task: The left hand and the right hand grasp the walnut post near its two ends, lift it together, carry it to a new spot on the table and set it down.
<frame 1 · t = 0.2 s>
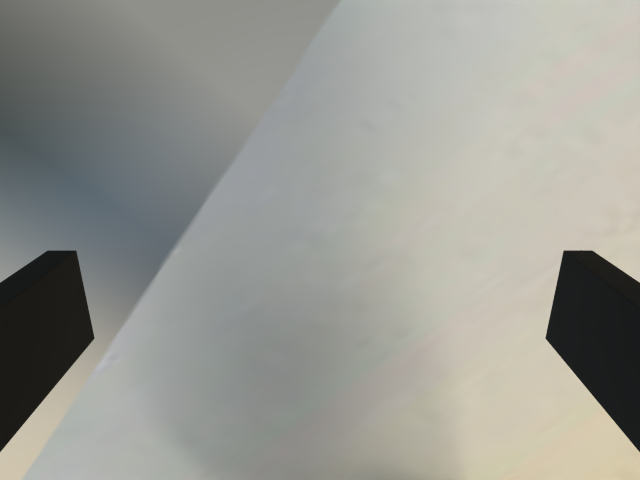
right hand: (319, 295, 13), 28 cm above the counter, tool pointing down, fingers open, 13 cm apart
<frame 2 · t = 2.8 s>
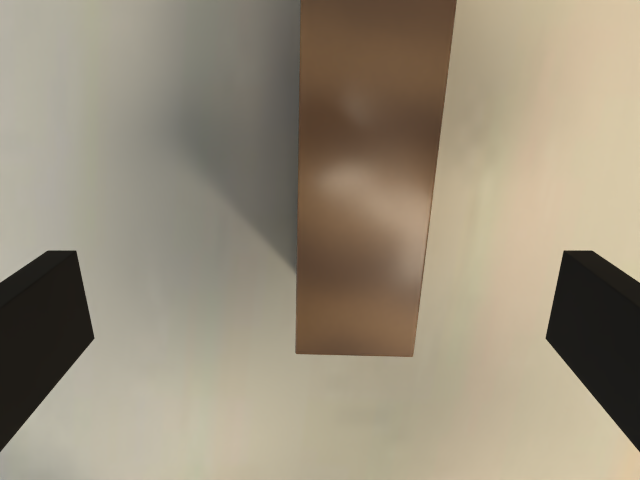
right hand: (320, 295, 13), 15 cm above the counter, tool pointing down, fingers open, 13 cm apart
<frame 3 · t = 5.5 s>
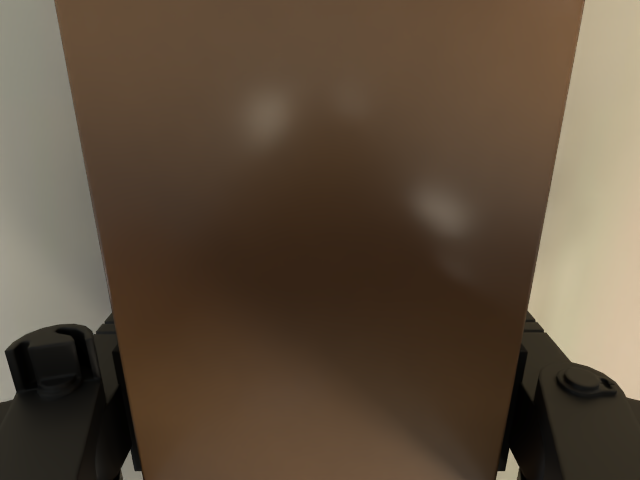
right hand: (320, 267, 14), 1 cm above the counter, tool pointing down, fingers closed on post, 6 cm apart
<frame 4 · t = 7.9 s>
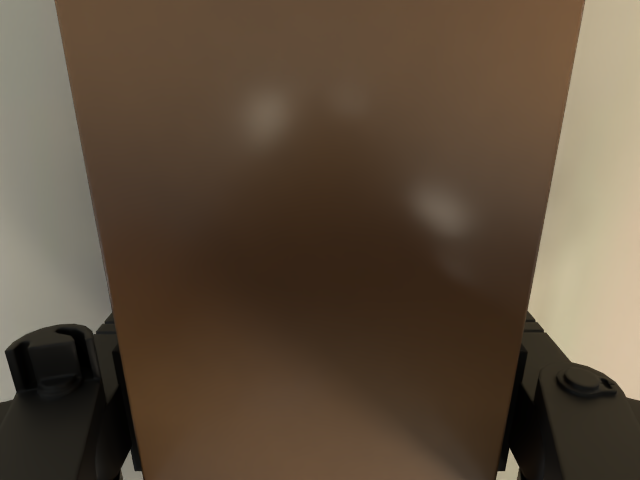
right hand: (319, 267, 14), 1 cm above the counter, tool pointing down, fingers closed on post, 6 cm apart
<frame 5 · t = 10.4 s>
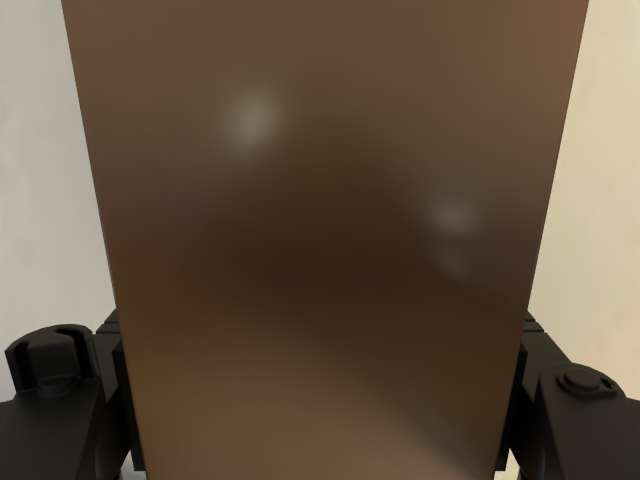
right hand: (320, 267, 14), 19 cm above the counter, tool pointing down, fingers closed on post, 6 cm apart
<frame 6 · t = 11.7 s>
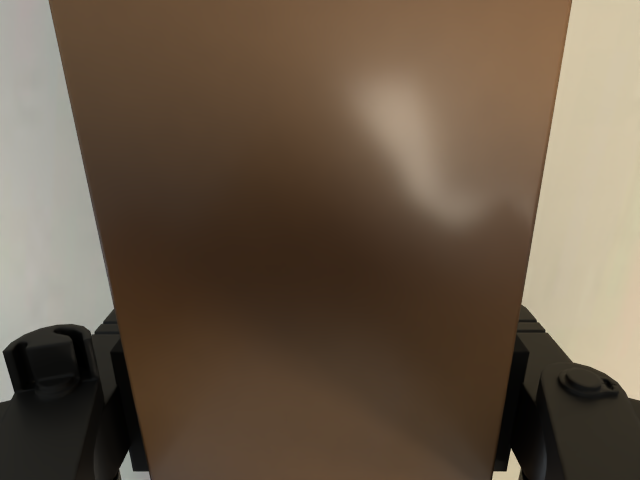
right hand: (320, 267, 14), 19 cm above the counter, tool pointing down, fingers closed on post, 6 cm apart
when the left hand's fingers open (4 cm above the counter, at t = 15.4 s): post drops 1 cm, on the counter.
when the right hand's fingers open (2 cm above the counter, at t = 15.4 s): post drops 1 cm, on the counter.
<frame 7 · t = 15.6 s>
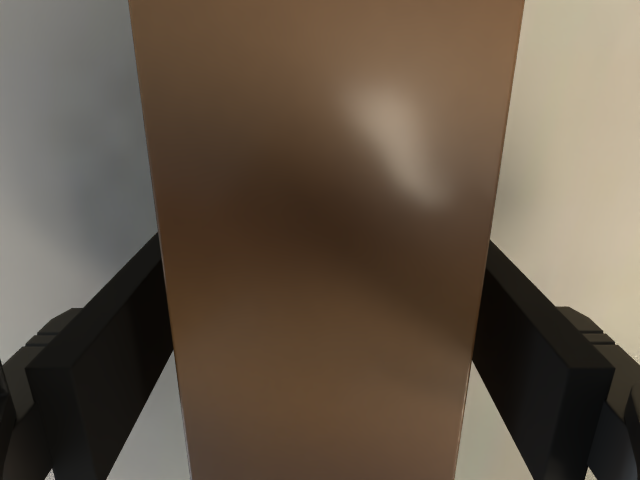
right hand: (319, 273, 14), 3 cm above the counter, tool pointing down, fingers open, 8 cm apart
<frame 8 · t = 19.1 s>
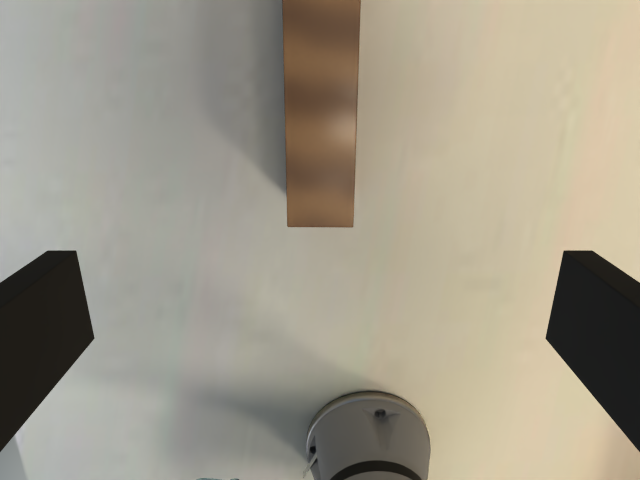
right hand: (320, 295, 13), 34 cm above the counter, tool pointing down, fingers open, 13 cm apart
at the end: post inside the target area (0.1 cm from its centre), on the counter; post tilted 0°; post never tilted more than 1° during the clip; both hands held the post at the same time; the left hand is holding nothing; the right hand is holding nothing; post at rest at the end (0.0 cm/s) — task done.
